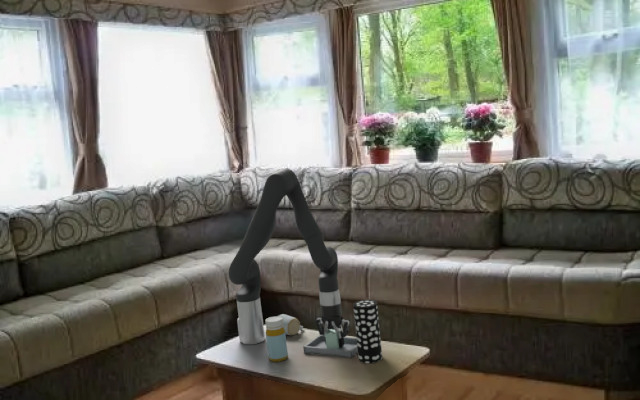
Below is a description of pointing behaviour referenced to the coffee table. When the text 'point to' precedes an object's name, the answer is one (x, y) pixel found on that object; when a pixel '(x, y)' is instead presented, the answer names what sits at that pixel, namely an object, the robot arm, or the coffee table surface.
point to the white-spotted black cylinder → (367, 331)
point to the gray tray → (320, 348)
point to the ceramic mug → (290, 325)
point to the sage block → (332, 340)
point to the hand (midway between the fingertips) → (335, 346)
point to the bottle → (276, 339)
